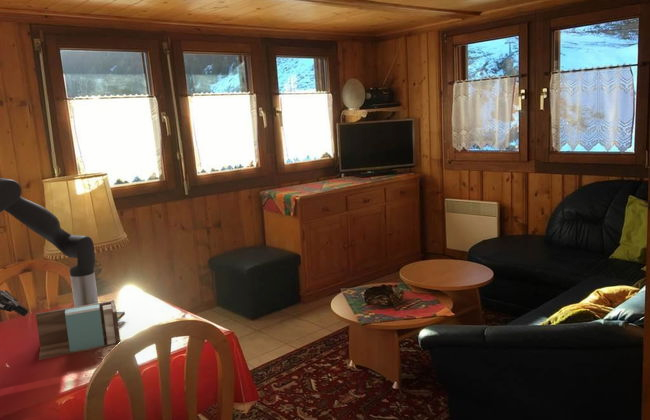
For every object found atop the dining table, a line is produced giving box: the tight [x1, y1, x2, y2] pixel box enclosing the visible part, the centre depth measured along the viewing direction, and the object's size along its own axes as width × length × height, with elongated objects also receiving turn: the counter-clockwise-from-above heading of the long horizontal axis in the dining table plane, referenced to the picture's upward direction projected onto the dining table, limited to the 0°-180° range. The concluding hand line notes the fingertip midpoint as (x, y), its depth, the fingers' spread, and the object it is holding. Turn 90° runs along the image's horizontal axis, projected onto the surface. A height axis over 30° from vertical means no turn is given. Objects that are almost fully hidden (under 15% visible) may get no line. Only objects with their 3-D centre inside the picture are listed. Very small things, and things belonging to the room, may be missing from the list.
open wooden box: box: [35, 299, 121, 361], centre depth 195 cm, size 13×26×14 cm, turn 114°
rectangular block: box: [65, 304, 104, 352], centre depth 193 cm, size 4×11×14 cm, turn 114°
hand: (26, 313), depth 185 cm, fingers closed
